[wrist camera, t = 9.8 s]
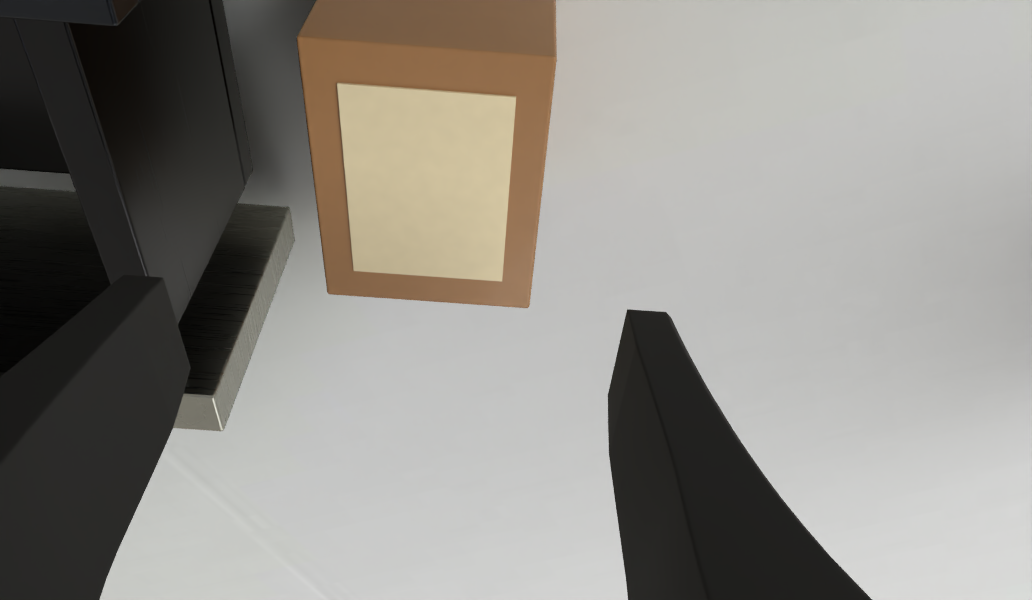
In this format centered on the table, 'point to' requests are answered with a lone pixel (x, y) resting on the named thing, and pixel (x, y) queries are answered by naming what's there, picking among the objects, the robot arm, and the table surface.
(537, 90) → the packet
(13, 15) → the black storage cabinet
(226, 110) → the drawer
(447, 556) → the table surface
